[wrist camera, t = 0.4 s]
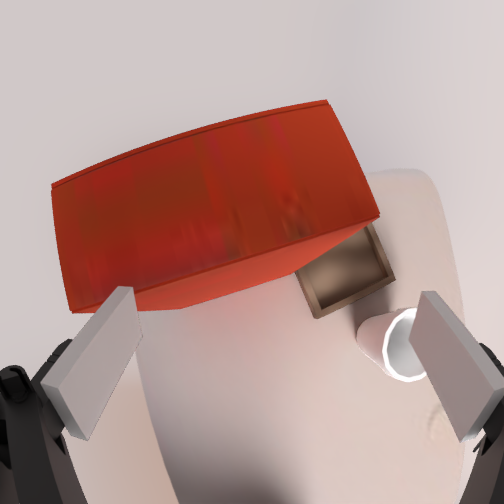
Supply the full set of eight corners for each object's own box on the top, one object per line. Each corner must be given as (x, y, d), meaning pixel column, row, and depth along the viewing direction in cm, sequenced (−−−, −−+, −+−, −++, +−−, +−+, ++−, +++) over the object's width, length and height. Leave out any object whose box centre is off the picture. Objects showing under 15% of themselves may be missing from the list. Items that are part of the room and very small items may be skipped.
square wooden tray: (389, 281, 48) (395, 280, 45) (314, 318, 46) (318, 319, 44) (354, 203, 49) (360, 198, 47) (278, 233, 48) (280, 229, 46)
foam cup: (377, 374, 45) (417, 393, 32) (335, 346, 46) (368, 360, 33) (408, 326, 47) (454, 330, 34) (368, 295, 47) (409, 292, 34)
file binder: (165, 257, 47) (50, 183, 15) (273, 224, 48) (327, 97, 17) (180, 308, 46) (72, 319, 14) (290, 274, 47) (383, 221, 16)
